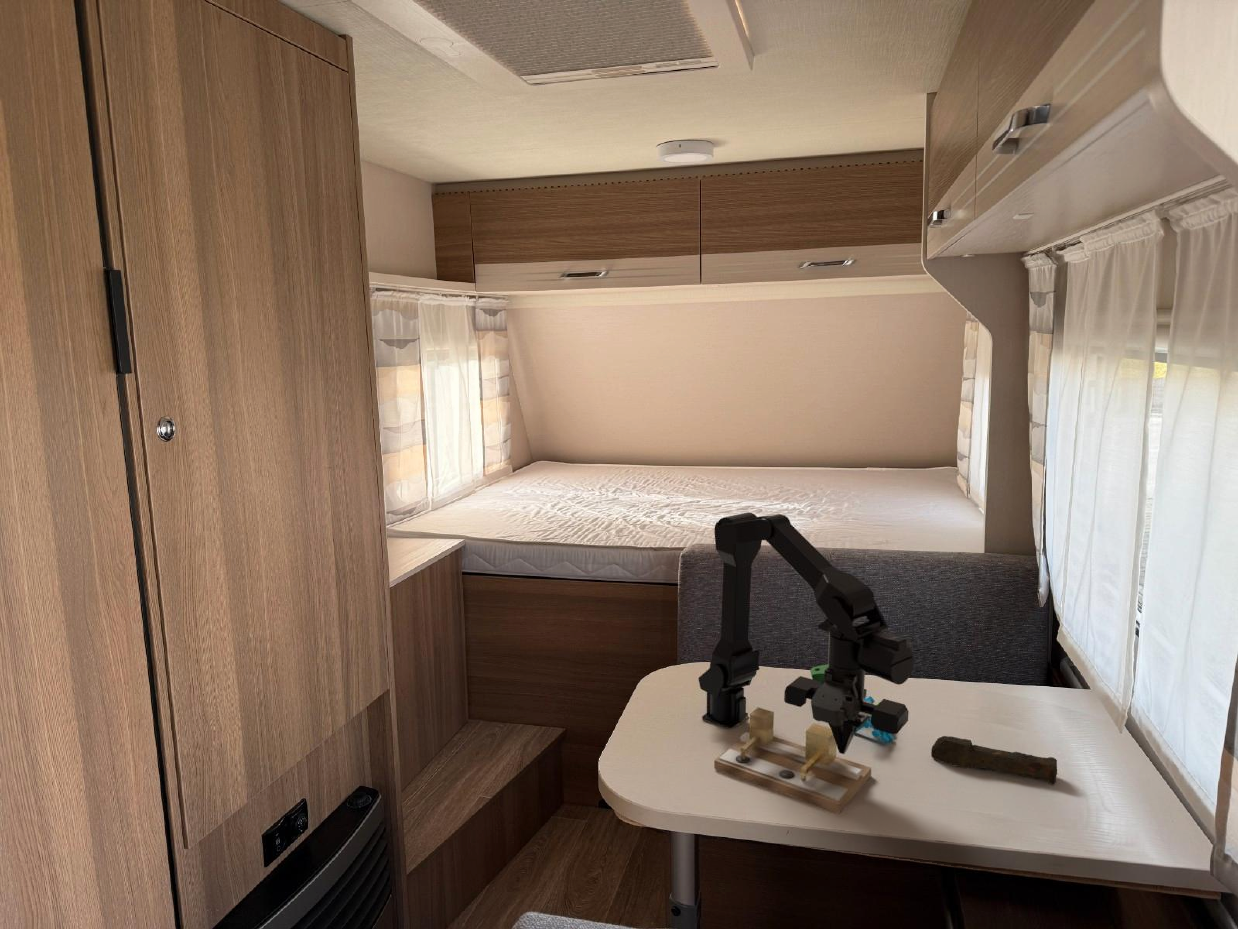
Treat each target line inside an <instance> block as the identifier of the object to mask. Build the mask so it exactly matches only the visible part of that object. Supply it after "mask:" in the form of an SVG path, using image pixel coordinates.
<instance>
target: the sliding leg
mask: <svg viewBox="0 0 1238 929" xmlns="http://www.w3.org/2000/svg"><path fill="white" fill-rule="evenodd" d="M805 747H806V748H805V759H807V760H809V761H808V762H807V763H806V764H805V765H804V766H803V767H802V768H801V780H802V781H805V780H806V774H807V773H808V772H809V771H810V770H811V769H812V768H813V767H814V766H815V765H816V764H817V763H819V764H822V765H825V766H829V765H830V764H831V763H832V762H833V761H834V760H835V759H836V757H837V745H836V742H835V739H834V736H833V733H832V730H831V728H830V727H829V726H825V725H821V724H819V723H813V724H811V726H809V728H807V730H805Z"/></svg>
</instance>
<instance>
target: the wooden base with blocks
mask: <svg viewBox="0 0 1238 929" xmlns="http://www.w3.org/2000/svg"><path fill="white" fill-rule="evenodd" d="M774 715H775V711H772V710H769V709H765V708H762V707H756V708H755V709H754V710H753V711H751V712H750V713H749V731H748V732H747V731H745V732H744V733H742V735H740V739H738V740H737V741H736V742H735V743H733V744H732V745H731V746H730V747H729V748H727V749H726V750H725V751H724V752H722V753H721V754H720V755H718V757H716V758H715V759H714V762H713V763H714V765H713V767H714V770H717V771H721V772H723V773H726V774H729V775H731V774H732V775H731V776H733V777H737V778H739V777H740V778H739V779H743V780H745V781H748V782H750V781H751V783H753V782H754V784H756V785H759V786H762V787H764V788H767V787H768V788H767V789H770V788H771V789H770V790H772V789H773V790H772V791H775V790H777V791H776V792H778V791H779V792H778V793H781V792H782V793H781V794H785V795H786V794H788V795H787V796H789V795H790V797H792V798H795V797H796V798H795V799H797V798H798V800H800V799H801V800H800V801H803V802H806V803H809V804H811V803H812V804H811V805H814V804H815V806H816V807H817V806H818V807H821V808H823V809H826V810H828V811H831V812H834V813H837V814H840V813H841V812H842V811H843V810H844V809H845V808H846V806H847V805H848V804H849V803H850V802H851V801H852V799H853V798H854V797H855V796H856V795H857V793H858V792H859V791H860V790H861V789H862V787H863V786H864V785H865V784H866V783H867V782H868V781H869V779H870V778H871V777H872V767H870V766H868V765H865V764H860V763H858V762H854V761H851V760H849V759H845V758H842V757H839V756H836V759H835V760H834V761H833V762H832V763H831V764H830V765H829V766H825V765H822V764H819V763H817V764H816V765H815V766H814V767H813V768H812V769H811V770H810V771H809V772H808V773H807V774H806V780H805V781H802V780H801V768H802V767H803V766H804V765H805V764H806V763H807V762H808V761H809V760H807V759H805V748H806V745H805V746H804V745H801V744H799V743H796V742H792V741H790V740H789V741H788V740H786V739H783V738H780V737H776V736H774V727H775V726H774V724H775V723H774V719H775V716H774Z"/></svg>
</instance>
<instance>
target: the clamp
mask: <svg viewBox="0 0 1238 929" xmlns="http://www.w3.org/2000/svg"><path fill="white" fill-rule="evenodd" d="M827 668H828V663H827V664H822V665H817V666H814V667H811V668H810V669H809V670H810V676H811V679H813V680H817V681H819V682H820V684H822V682H823V679H824V674H825V670H826V669H827Z"/></svg>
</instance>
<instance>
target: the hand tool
mask: <svg viewBox="0 0 1238 929" xmlns="http://www.w3.org/2000/svg"><path fill="white" fill-rule="evenodd" d="M930 755H931V757H932V758H933V759H935V760H937V761H939V762H942V763H944V764H947V765H951V766H955V767H959V768H962V769H967V768H969V767H973V768H974V767H975V768H981V769H984V770H985V769H986V770H991V771H994V772H995V771H996V772H997V771H998V772H1003V773H1007V774H1012V775H1017V776H1022V777H1025V778H1031V779H1035V780H1043V781H1047V782H1049V783H1050V784H1051V785H1052V786H1054V785H1055V783H1056V780H1057V775H1058V764H1057V763H1058V760H1057V758H1055V757H1053V756H1049V757H1042V756H1036V755H1033V754H1026V753H1023V752H1019V751H1014V752H1012V751H1009V750H1008V751H1007V750H1001V749H995V748H991V747H985V746H982V745H977V744H973V743H972V740H970V739H968V738H961V737H955V736H949V735H943V736H941V737H938V738H937V739H936V740H935V741H934V744H933V745H932V746H931V752H930Z"/></svg>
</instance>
